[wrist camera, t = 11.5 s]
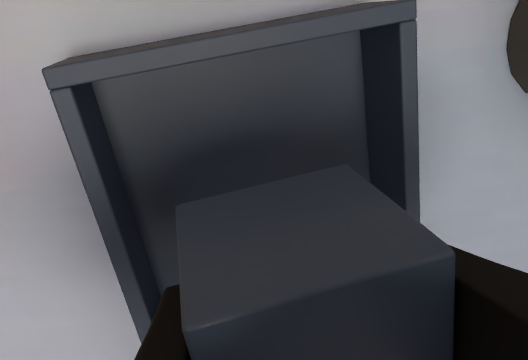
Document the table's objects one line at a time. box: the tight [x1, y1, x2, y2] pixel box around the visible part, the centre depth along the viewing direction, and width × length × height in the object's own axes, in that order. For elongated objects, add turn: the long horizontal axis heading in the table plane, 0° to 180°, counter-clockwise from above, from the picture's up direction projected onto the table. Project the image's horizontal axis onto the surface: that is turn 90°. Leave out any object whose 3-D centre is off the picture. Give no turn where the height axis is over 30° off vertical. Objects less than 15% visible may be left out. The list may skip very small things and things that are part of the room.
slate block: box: [175, 164, 455, 360], centre depth 9 cm, size 4×4×4 cm
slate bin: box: [42, 0, 420, 344], centre depth 16 cm, size 11×11×4 cm
